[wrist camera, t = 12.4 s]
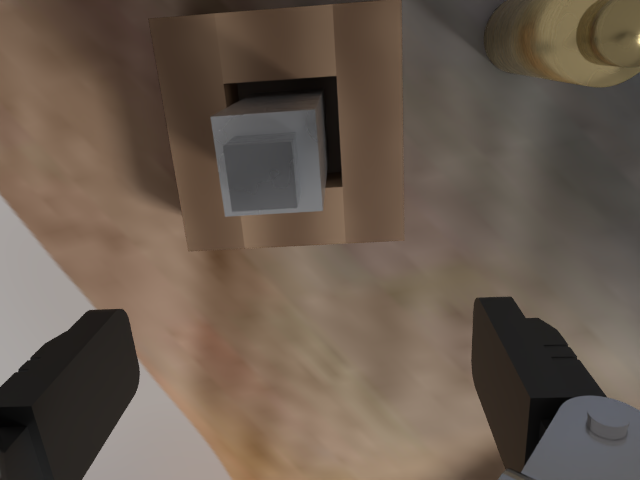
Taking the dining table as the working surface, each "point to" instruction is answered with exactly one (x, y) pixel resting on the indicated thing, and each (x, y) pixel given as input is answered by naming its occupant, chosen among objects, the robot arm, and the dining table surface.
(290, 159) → the square bit
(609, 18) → the round bit
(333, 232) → the socket block
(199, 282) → the dining table surface
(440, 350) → the dining table surface
